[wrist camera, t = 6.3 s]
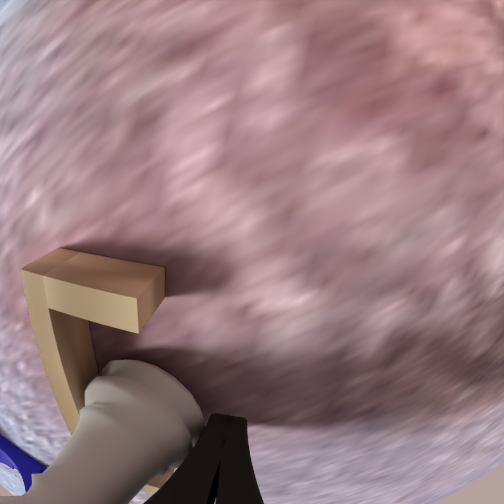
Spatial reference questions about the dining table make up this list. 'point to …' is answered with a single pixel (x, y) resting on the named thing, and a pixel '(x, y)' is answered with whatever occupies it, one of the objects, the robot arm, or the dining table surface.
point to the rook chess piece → (120, 438)
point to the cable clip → (19, 461)
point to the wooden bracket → (85, 318)
